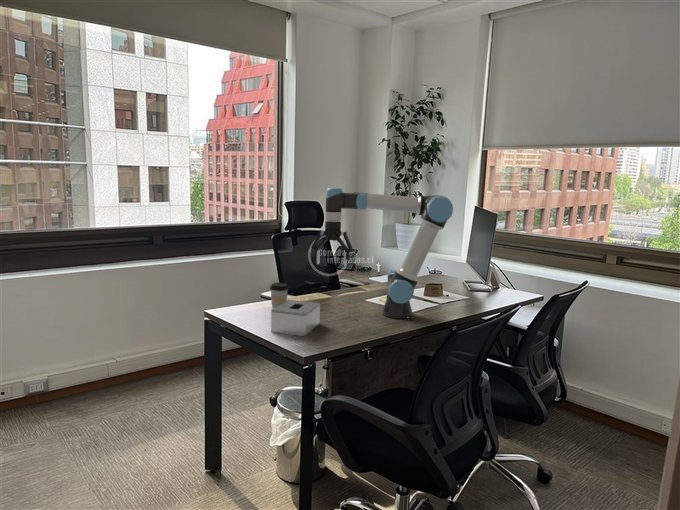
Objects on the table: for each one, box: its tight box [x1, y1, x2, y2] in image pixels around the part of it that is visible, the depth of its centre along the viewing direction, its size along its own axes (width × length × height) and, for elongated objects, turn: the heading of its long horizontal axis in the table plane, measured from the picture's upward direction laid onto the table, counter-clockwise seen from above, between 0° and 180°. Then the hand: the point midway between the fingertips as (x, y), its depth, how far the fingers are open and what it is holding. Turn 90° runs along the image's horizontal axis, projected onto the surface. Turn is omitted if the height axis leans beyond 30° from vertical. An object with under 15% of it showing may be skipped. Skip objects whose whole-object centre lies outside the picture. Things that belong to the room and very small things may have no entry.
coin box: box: [270, 299, 321, 337], centre depth 224 cm, size 16×20×10 cm
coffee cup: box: [269, 282, 290, 310], centre depth 245 cm, size 9×9×15 cm
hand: (331, 265), depth 238 cm, fingers open, 13 cm apart
